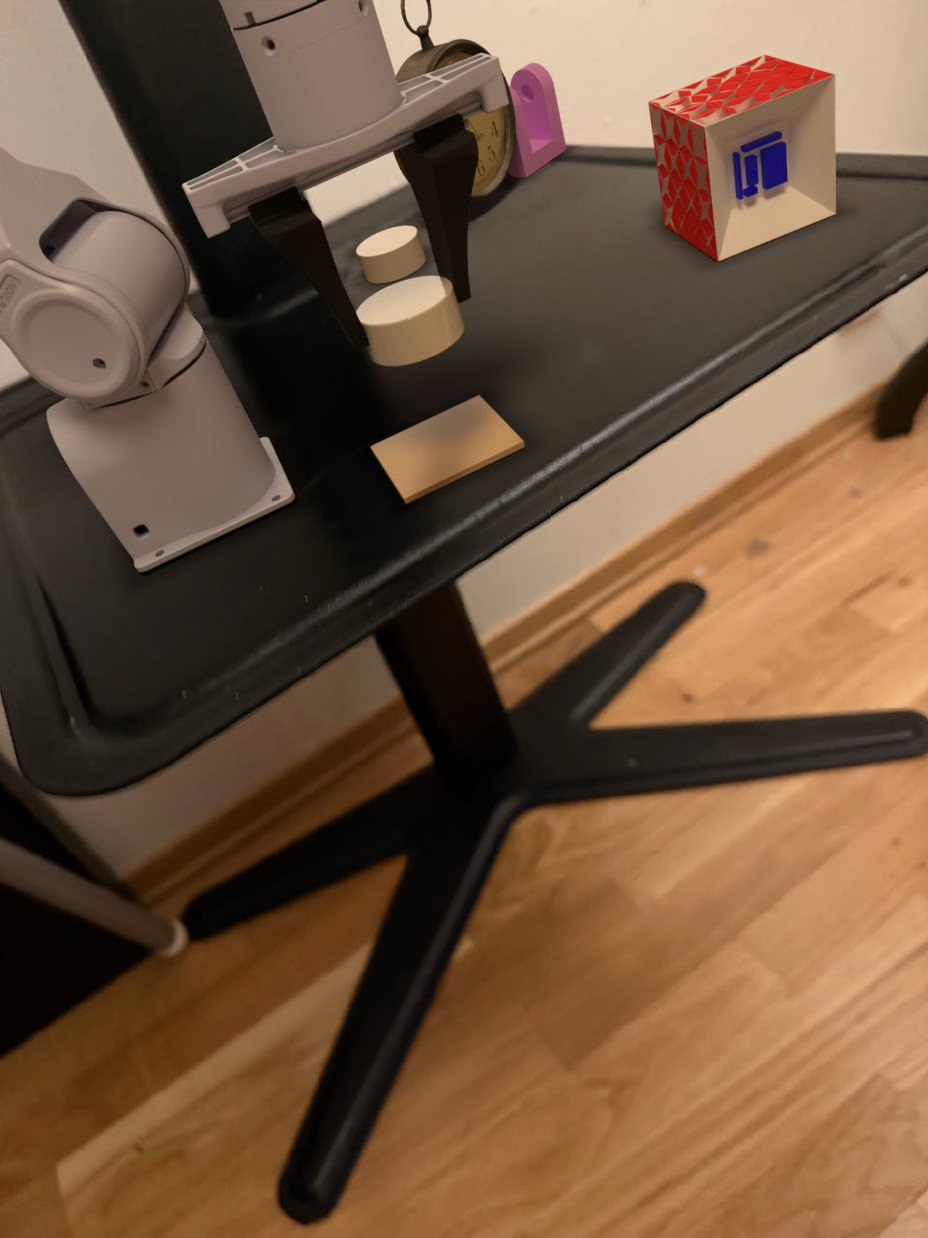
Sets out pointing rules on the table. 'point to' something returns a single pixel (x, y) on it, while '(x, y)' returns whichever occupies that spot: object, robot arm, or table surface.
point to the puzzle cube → (746, 154)
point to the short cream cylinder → (411, 320)
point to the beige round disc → (391, 254)
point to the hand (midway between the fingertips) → (409, 317)
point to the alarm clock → (489, 128)
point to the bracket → (535, 120)
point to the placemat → (445, 448)
